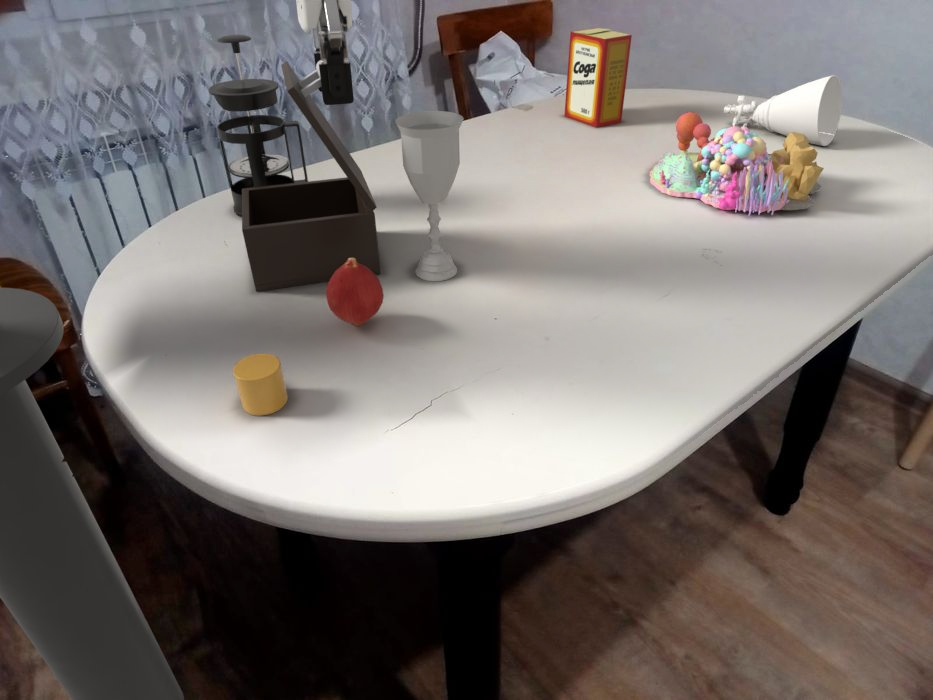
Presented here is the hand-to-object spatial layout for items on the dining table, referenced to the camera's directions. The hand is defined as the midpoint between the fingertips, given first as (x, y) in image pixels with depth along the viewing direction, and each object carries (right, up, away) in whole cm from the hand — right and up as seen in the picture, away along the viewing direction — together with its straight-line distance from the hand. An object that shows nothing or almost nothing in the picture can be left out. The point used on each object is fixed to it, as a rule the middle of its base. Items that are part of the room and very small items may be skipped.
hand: (335, 95), depth 73 cm
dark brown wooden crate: (-5, -17, +10) cm, 20 cm away
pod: (-4, -33, -13) cm, 35 cm away
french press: (-14, -7, +24) cm, 29 cm away
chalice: (+11, -19, +7) cm, 23 cm away
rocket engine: (+73, +12, +50) cm, 89 cm away
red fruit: (+3, -26, -2) cm, 26 cm away
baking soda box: (+40, +18, +59) cm, 73 cm away
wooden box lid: (-2, -4, +2) cm, 5 cm away
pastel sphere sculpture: (+55, -3, +29) cm, 62 cm away
